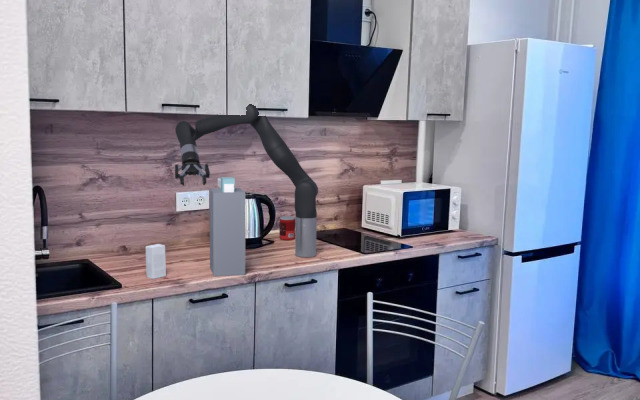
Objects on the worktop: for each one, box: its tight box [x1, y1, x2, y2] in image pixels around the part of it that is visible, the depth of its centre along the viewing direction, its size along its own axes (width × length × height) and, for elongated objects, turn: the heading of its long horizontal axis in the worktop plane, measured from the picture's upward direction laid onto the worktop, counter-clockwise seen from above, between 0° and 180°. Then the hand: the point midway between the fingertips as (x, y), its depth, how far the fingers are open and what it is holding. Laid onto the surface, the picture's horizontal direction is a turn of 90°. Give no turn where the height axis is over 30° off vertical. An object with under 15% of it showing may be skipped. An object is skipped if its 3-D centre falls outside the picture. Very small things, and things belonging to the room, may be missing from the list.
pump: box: [217, 176, 236, 192], centre depth 236 cm, size 22×5×5 cm, turn 16°
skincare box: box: [145, 243, 167, 280], centre depth 225 cm, size 6×4×12 cm
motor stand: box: [209, 187, 246, 277], centre depth 234 cm, size 14×12×32 cm
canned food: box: [278, 215, 296, 242], centre depth 299 cm, size 8×8×11 cm
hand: (193, 183), depth 249 cm, fingers open, 8 cm apart
